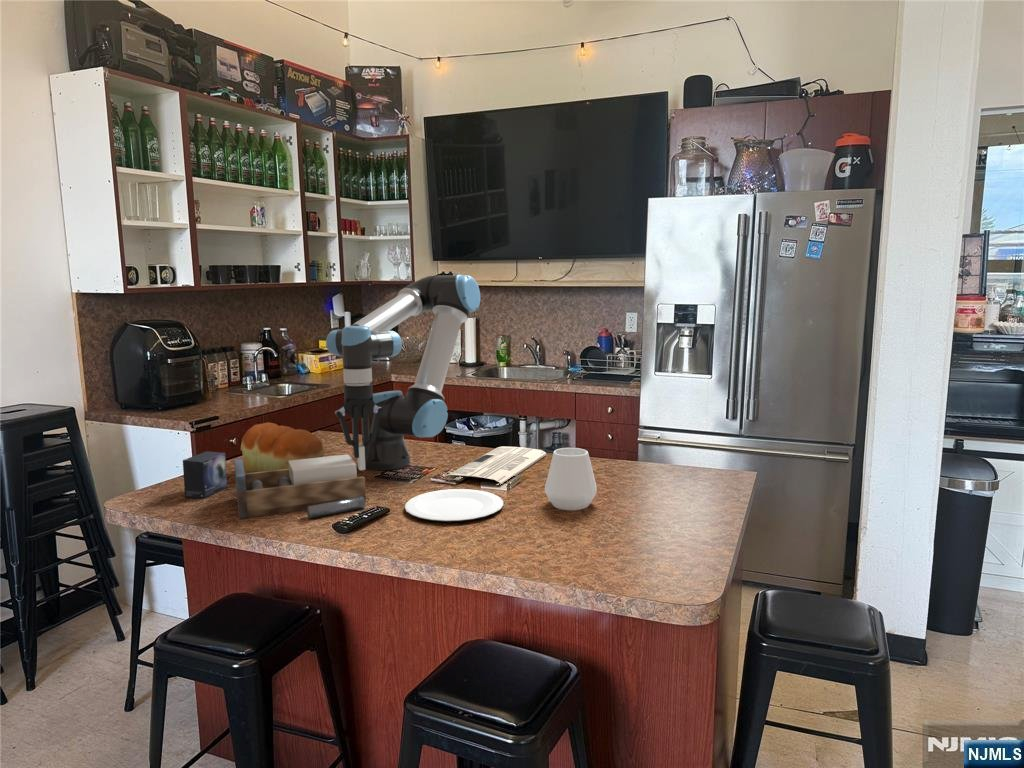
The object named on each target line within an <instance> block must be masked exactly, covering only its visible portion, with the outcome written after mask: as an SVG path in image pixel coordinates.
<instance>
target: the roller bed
mask: <svg viewBox="0 0 1024 768" xmlns="http://www.w3.org/2000/svg"><path fill="white" fill-rule="evenodd" d="M233 461H234V473H235V474H234V475H235V489H236V500H237V509H238V518H239V519H247V518H253V517H260V516H261V517H262V516H267V515H268V516H269V515H276V514H283V513H289V512H298V511H307V506H312V505H318V504H323V503H328V502H334V501H339V500H344V499H350V498H355V497H360V496H363V497H364V499H365V503H366V502H367V498H366V478H365V476H357V477H355V478H346V479H338V480H330V481H321V482H313V483H305V484H296V485H292V482H291V480H290V477H289V469H281V470H272V471H263V472H254V473H245V472H244V466H243V458H242V459H241V458H240V459H234V460H233Z"/></svg>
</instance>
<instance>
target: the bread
mask: <svg viewBox="0 0 1024 768" xmlns="http://www.w3.org/2000/svg"><path fill="white" fill-rule="evenodd" d="M240 451H242V452H241V453H242V461H243V466H244V472H245V473H254V472H263V471H272V470H281V469H289V462H288V461H290V460H300V459H309V458H318V457H324V455H325V450H324V446H323V443H322V441H321V440H320V439H319V438H318V437H317V436H316V435H315V434H313V433H312V432H311V431H308V430H306V429H301V428H298V429H295V428H293V427H291V426H286V425H278V424H277V423H274V422H273V423H272V422H269V421H268V422H264V423H263V422H262V423H258V424H253V426H251V427H250V428H249V429H247V430H246V432H245V433H244V434H243V436H242V438H241V444H240Z"/></svg>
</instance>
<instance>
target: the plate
mask: <svg viewBox="0 0 1024 768" xmlns="http://www.w3.org/2000/svg"><path fill="white" fill-rule="evenodd" d="M503 507H504V500H503V499H502V497H500V496H498V495H496V494H494V493H493V492H488V491H485V490H477V489H468V488H467V489H466V488H455V489H454V488H453V489H452V488H450V489H441V490H434V491H429V492H425V493H422V494H418V495H416V496H414V497H412V498H410V499H409V500H408V501H407V502H405V505H404V509H405V511H406V513H407V514H409V515H411V516H412V517H415V518H418V519H420V520H424V521H425V520H426V521H431V522H440V523H441V522H444V523H446V522H447V523H449V522H450V523H452V522H453V523H454V522H455V523H457V522H467V521H474V520H477V519H483V518H486V517H489V516H492V515H494V514H496V513H497V512H499V511H500V510H501V509H502V508H503Z"/></svg>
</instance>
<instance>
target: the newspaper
mask: <svg viewBox="0 0 1024 768" xmlns="http://www.w3.org/2000/svg"><path fill="white" fill-rule="evenodd" d="M546 456H547V452H545V451H544V450H542V449H537V448H530V447H522V446H520V447H519V446H499V447H496V448H494V449H493V450H490V451H487V452H486V453H484V454H483V455H481V456H479V457H477V458H476V459H474V460H472V461H470V462H468V463H466V464H464V465H463V466H460V467H458V469H455V470H454V471H451V472H450V473H447V474H446V475H445V477H444V479H445V480H446V481H447V480H448V481H450V480H454V479H455V478H456V477H459V476H461V477H463V478H461V479H460V480H458V481H457V482H462V481H463V480H465V479H467V478H469V477H472V478H480V479H483V478H484V479H489V480H493V481H495V482H496V483H498V482H499V484H500V485H501V484H502V483H504V482H505V481H507V480H508V479H510V478H511V477H513V476H515V477H516V476H518V475H519V474H521V473H522V472H524V471H525V470H527V469H528V468H529V467H531V466H533V465H534V464H536V463H537V462H538V461H540V460H541V459H542V458H544V457H546ZM513 478H514V477H513ZM510 480H511V479H510ZM507 482H508V481H507ZM504 484H505V483H504Z"/></svg>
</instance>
